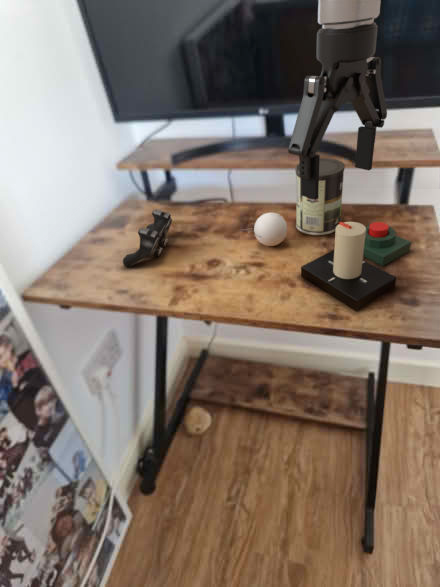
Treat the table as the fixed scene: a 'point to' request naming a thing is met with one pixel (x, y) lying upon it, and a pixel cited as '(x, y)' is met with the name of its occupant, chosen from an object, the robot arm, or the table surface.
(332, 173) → the coffee can
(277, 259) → the table surface
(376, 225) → the red button
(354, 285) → the panel
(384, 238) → the button box
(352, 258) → the dial
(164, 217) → the game controller
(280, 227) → the white sphere
